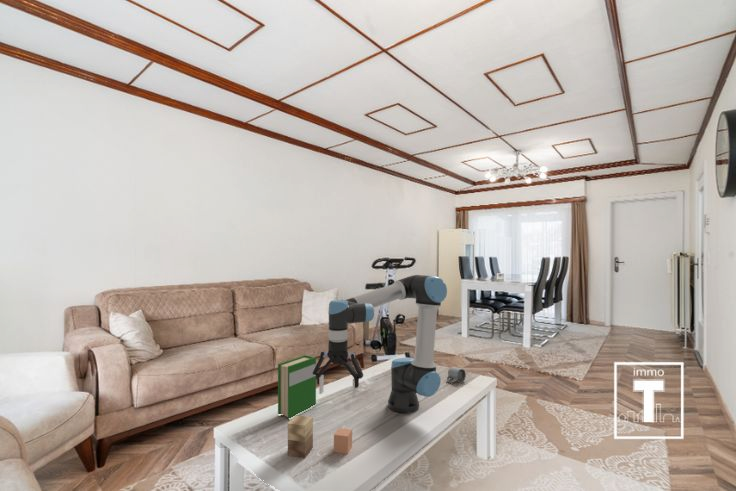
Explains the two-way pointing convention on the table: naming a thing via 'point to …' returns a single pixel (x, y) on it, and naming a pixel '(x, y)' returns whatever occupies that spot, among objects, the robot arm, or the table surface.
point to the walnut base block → (300, 447)
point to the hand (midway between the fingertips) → (337, 394)
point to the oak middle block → (300, 428)
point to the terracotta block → (343, 440)
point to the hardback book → (296, 385)
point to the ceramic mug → (456, 374)
